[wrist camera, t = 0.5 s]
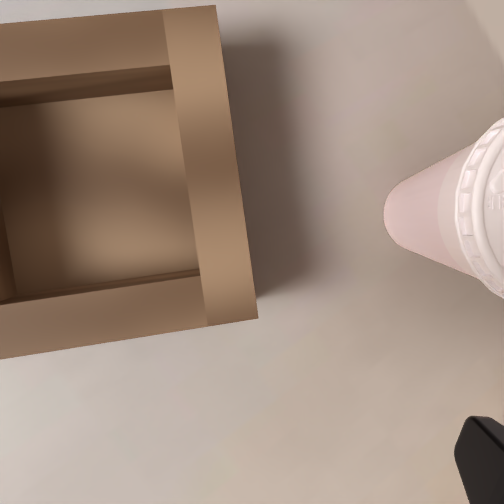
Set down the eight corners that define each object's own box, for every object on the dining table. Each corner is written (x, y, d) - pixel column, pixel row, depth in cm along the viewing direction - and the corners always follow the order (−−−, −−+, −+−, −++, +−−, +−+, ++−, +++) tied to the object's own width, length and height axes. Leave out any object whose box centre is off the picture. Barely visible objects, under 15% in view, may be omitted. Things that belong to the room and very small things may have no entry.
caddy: (247, 301, 22) (258, 318, 18) (-15, 342, 21) (-64, 369, 17) (212, 45, 22) (215, 4, 18) (-63, 72, 20) (-127, 35, 16)
